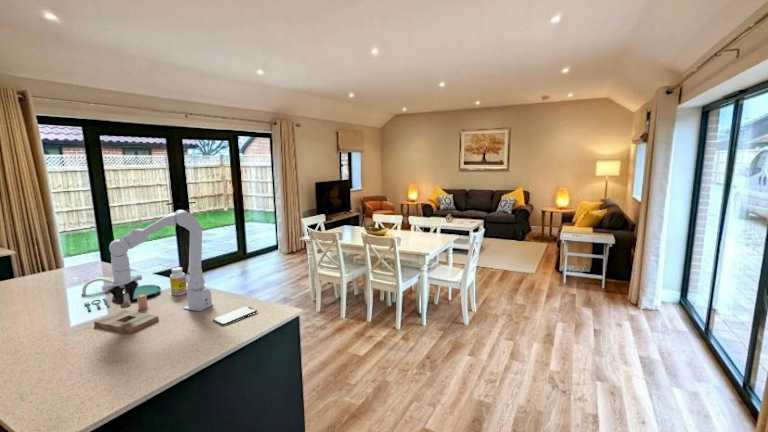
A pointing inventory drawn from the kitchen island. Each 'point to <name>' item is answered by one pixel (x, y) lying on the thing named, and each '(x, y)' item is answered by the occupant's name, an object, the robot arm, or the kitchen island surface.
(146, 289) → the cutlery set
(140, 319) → the wooden board with hole
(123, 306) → the steel pin
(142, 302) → the terracotta pin
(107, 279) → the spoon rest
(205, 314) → the kitchen island surface
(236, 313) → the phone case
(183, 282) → the supplement bottle
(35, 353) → the kitchen island surface
